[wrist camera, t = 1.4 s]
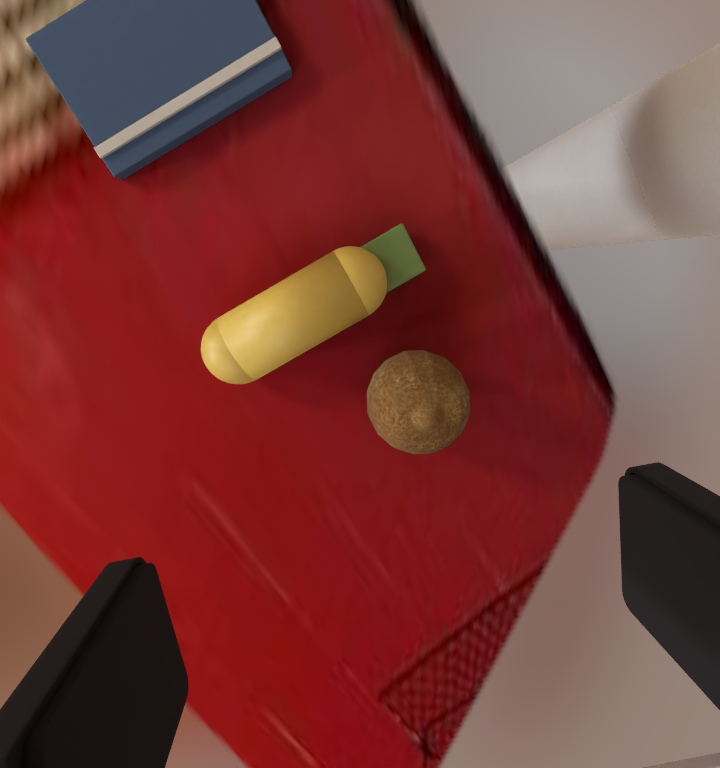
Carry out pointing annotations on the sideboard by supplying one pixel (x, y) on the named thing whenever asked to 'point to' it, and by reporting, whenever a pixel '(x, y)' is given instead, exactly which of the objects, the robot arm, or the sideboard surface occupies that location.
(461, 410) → the fruit
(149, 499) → the sideboard surface
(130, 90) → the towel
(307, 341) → the corn cob
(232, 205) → the sideboard surface
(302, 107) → the sideboard surface
